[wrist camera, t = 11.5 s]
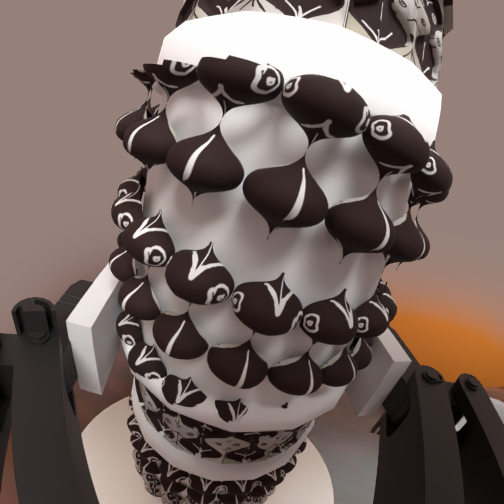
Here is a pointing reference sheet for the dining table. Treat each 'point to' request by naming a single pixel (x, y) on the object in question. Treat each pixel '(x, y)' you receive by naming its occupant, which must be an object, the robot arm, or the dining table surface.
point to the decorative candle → (268, 226)
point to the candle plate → (130, 484)
